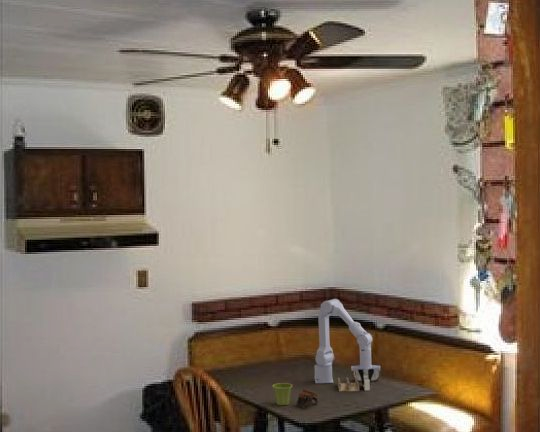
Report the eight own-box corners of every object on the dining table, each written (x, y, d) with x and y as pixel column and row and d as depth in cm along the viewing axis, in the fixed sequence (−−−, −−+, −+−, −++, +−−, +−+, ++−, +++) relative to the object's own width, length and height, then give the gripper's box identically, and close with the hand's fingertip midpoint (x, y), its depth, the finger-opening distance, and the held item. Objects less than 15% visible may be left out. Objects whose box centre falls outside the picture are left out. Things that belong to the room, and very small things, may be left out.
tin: (380, 380, 344) (380, 364, 344) (381, 381, 341) (380, 365, 341) (352, 380, 346) (351, 364, 346) (352, 381, 343) (351, 365, 343)
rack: (339, 391, 325) (339, 383, 325) (337, 384, 337) (337, 377, 337) (359, 390, 325) (359, 383, 325) (357, 384, 337) (356, 377, 337)
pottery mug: (292, 404, 307) (299, 388, 309) (310, 412, 308) (316, 395, 310) (299, 405, 295) (305, 388, 298) (318, 413, 296) (324, 396, 299)
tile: (364, 390, 325) (364, 380, 325) (362, 385, 334) (362, 375, 334) (369, 390, 325) (369, 380, 325) (367, 385, 334) (367, 375, 334)
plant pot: (279, 399, 314) (278, 381, 314) (296, 402, 309) (295, 384, 309) (269, 405, 306) (268, 386, 305) (286, 407, 301) (286, 389, 301)
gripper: (351, 359, 326) (352, 386, 326) (380, 359, 325) (381, 386, 325) (350, 356, 333) (351, 382, 333) (379, 355, 332) (379, 382, 332)
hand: (366, 384), depth 330 cm, fingers closed on tile, 2 cm apart
